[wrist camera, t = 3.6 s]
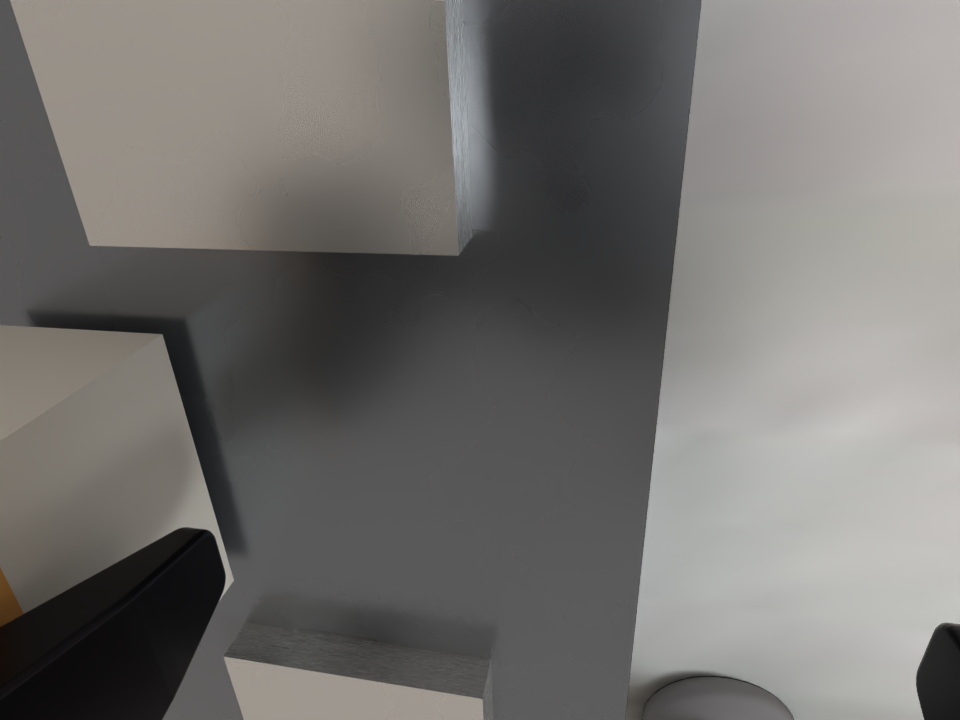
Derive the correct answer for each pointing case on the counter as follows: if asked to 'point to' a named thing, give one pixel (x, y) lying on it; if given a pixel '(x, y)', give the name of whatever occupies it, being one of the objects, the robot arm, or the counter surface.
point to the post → (714, 701)
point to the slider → (89, 458)
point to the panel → (376, 319)
